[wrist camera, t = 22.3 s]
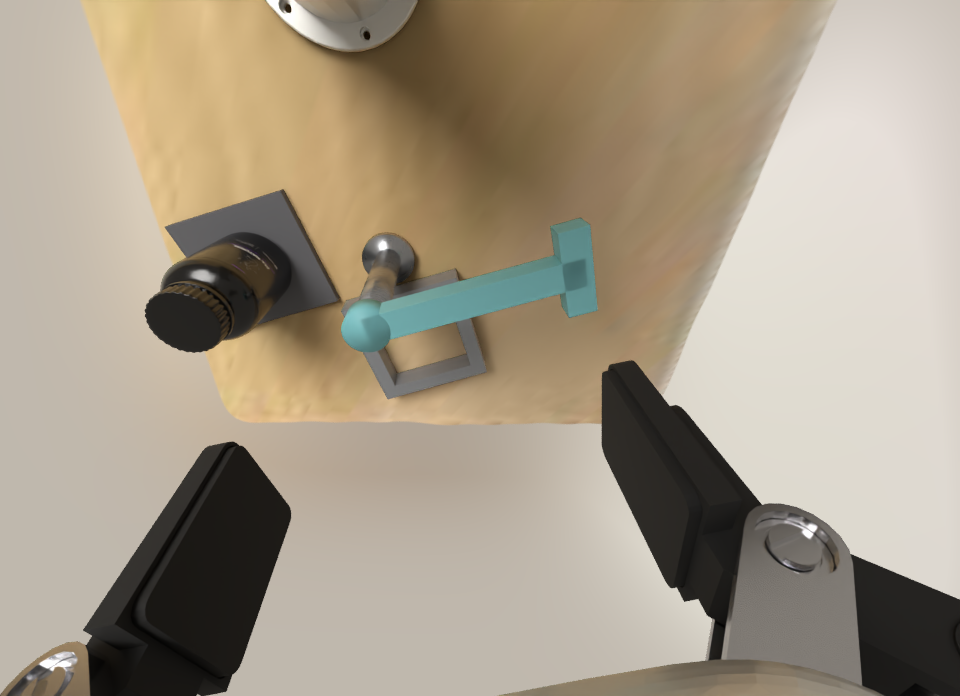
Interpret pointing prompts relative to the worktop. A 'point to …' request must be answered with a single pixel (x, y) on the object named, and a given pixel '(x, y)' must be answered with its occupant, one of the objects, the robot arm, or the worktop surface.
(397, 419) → the worktop surface
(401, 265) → the latch post
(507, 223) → the worktop surface
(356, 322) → the latch bar
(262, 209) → the rubber mat
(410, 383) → the bottle holder
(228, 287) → the supplement bottle
